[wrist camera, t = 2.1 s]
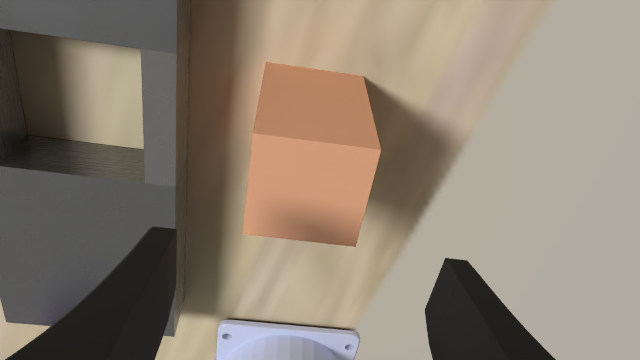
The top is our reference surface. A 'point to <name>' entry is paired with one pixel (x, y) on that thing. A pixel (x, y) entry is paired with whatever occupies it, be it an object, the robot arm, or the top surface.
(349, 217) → the square block
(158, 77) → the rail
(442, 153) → the top surface
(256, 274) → the top surface
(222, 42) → the top surface
